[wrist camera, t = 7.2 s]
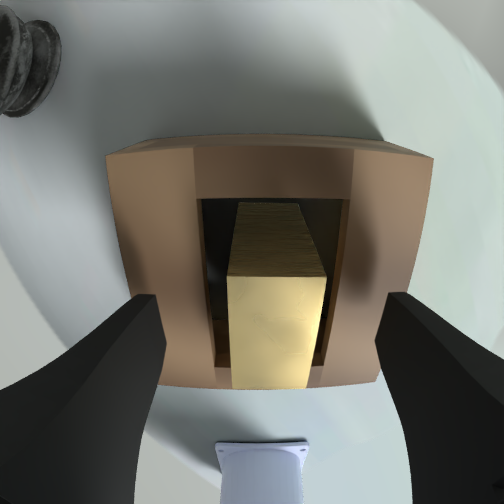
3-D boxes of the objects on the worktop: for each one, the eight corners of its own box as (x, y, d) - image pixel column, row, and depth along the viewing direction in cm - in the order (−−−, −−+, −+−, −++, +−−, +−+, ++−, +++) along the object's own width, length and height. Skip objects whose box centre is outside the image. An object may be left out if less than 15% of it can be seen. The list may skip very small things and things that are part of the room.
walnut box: (355, 327, 16) (375, 381, 12) (174, 329, 16) (158, 384, 13) (385, 141, 11) (433, 158, 8) (147, 139, 12) (105, 155, 8)
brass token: (290, 291, 15) (306, 388, 10) (239, 291, 15) (232, 389, 10) (297, 203, 13) (326, 277, 8) (239, 202, 13) (226, 276, 8)
